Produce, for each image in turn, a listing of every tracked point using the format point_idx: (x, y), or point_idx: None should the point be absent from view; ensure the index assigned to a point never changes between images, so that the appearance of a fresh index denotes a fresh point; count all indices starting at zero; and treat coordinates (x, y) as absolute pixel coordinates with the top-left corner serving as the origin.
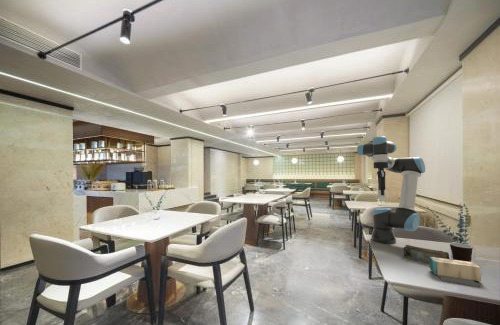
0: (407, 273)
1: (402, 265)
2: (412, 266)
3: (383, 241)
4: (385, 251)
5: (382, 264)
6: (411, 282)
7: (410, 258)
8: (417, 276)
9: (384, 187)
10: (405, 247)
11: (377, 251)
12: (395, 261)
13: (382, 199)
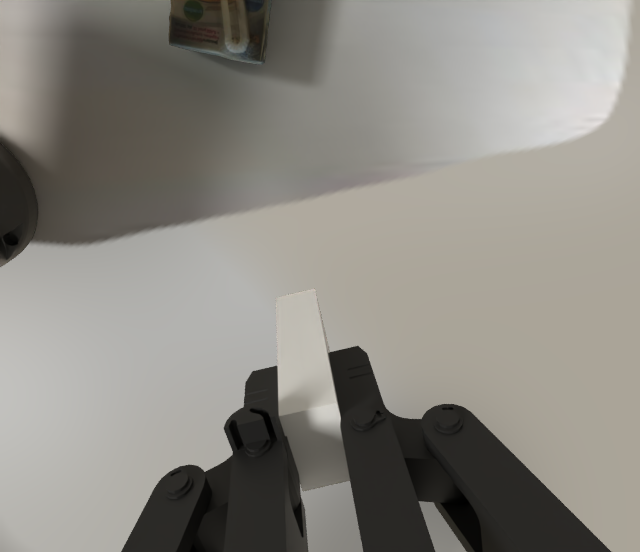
0: (512, 48)
1: (410, 71)
2: (396, 20)
3: (28, 193)
4: (216, 165)
5: (449, 161)
6: (612, 34)
7: (267, 26)
8: (529, 3)
9: (486, 440)
10: (256, 49)
11: (248, 203)
12: (366, 106)
13: (324, 330)
